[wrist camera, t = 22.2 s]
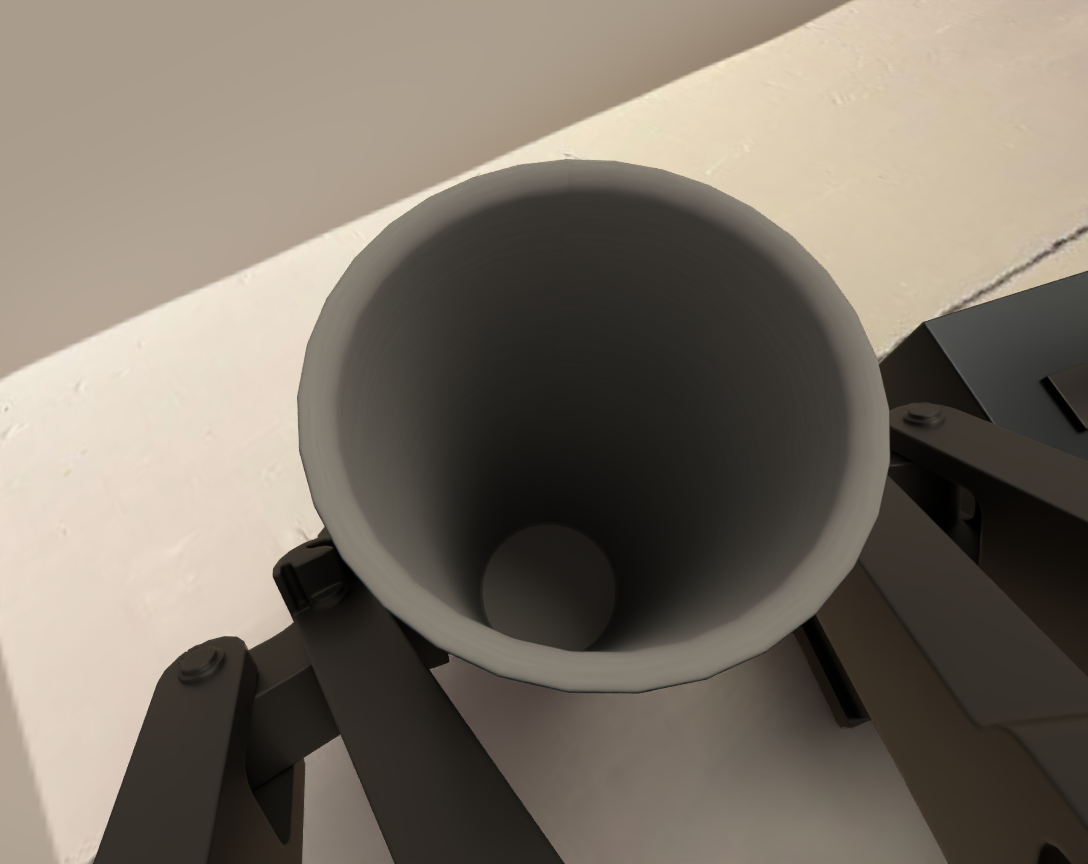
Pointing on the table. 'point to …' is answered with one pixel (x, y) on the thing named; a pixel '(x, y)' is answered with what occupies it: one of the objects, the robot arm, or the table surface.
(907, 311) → the table surface
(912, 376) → the toaster
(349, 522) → the cup
